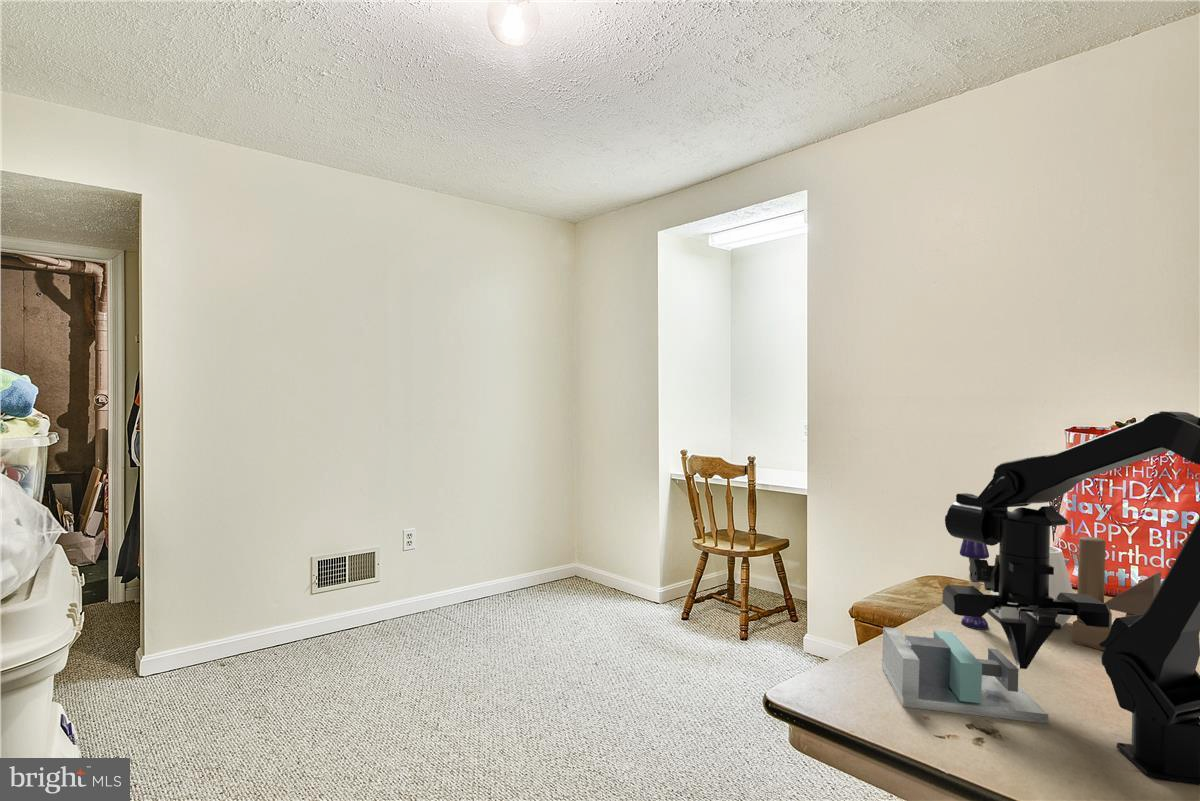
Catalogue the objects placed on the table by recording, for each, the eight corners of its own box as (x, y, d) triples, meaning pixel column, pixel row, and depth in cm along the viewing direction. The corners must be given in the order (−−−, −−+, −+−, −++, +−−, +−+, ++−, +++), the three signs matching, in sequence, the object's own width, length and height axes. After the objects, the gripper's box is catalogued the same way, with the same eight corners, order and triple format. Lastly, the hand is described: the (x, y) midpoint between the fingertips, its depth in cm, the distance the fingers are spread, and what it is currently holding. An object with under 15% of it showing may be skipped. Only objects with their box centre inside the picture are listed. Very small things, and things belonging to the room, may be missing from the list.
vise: (1047, 723, 81) (1049, 674, 81) (902, 706, 85) (904, 659, 85) (1005, 679, 94) (1007, 637, 94) (881, 666, 97) (882, 625, 97)
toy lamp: (978, 631, 114) (981, 537, 114) (952, 623, 118) (954, 532, 118) (992, 626, 116) (995, 535, 116) (966, 619, 120) (969, 530, 120)
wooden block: (1152, 665, 101) (1155, 550, 101) (1071, 642, 109) (1074, 537, 109) (1159, 660, 103) (1162, 547, 103) (1079, 638, 112) (1082, 535, 111)
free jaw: (1025, 708, 82) (1027, 669, 82) (959, 700, 84) (961, 662, 84) (990, 669, 94) (991, 635, 94) (932, 664, 95) (933, 630, 95)
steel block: (949, 688, 88) (950, 648, 88) (910, 684, 89) (911, 644, 89) (941, 677, 91) (942, 638, 91) (903, 673, 92) (904, 635, 92)
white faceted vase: (982, 620, 120) (984, 545, 120) (997, 604, 130) (999, 535, 130) (1071, 639, 111) (1073, 559, 111) (1080, 621, 121) (1082, 547, 121)
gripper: (1070, 544, 93) (1068, 652, 93) (931, 537, 97) (929, 639, 97) (1115, 563, 83) (1112, 685, 83) (956, 553, 86) (954, 669, 86)
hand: (1021, 667), depth 87 cm, fingers closed
